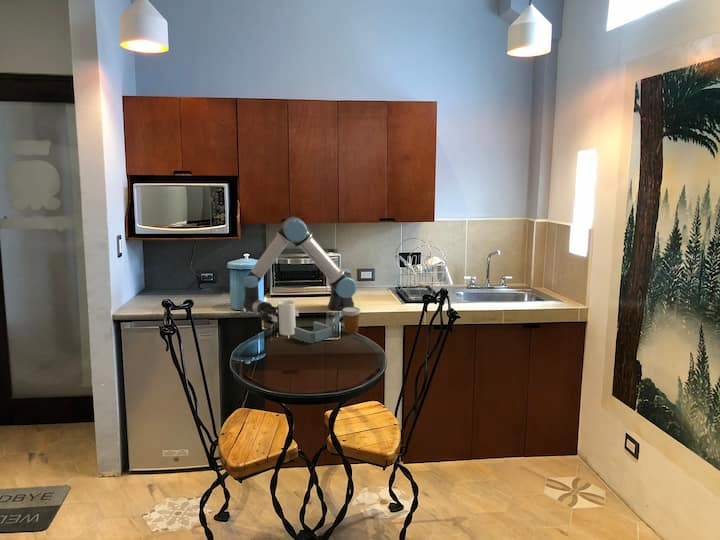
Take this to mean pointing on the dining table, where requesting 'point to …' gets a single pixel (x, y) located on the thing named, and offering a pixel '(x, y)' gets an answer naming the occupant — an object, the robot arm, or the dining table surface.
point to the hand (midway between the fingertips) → (287, 316)
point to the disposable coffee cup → (351, 319)
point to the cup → (286, 317)
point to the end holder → (314, 333)
